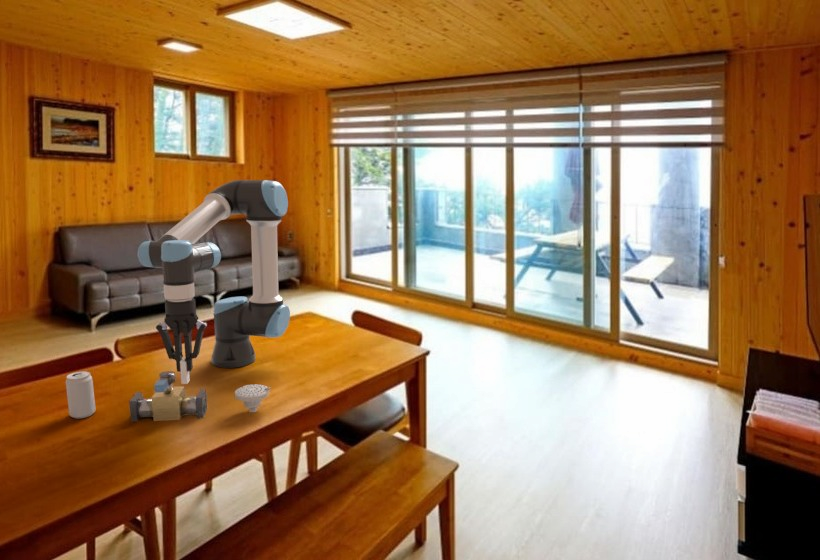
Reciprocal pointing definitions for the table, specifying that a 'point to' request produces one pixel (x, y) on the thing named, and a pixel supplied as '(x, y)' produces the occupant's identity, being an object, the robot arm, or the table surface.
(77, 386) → the beverage can
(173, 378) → the lever
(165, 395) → the valve
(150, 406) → the pipe out
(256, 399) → the showerhead
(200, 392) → the pipe in
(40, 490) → the table surface
